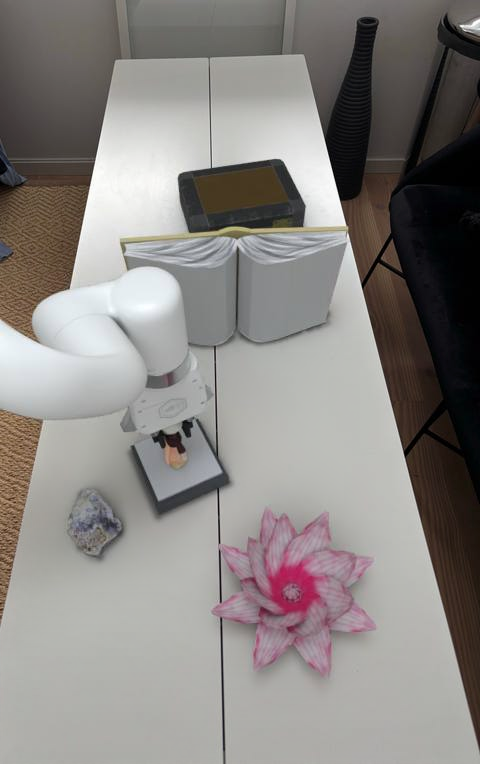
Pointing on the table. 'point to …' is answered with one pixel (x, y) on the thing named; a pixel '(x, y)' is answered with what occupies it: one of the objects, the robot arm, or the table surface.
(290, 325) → the book
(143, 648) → the table surface
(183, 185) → the cash box
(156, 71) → the table surface
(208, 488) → the scale
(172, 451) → the grandmother figurine
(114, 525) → the mineral specimen
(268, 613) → the decorative flower
